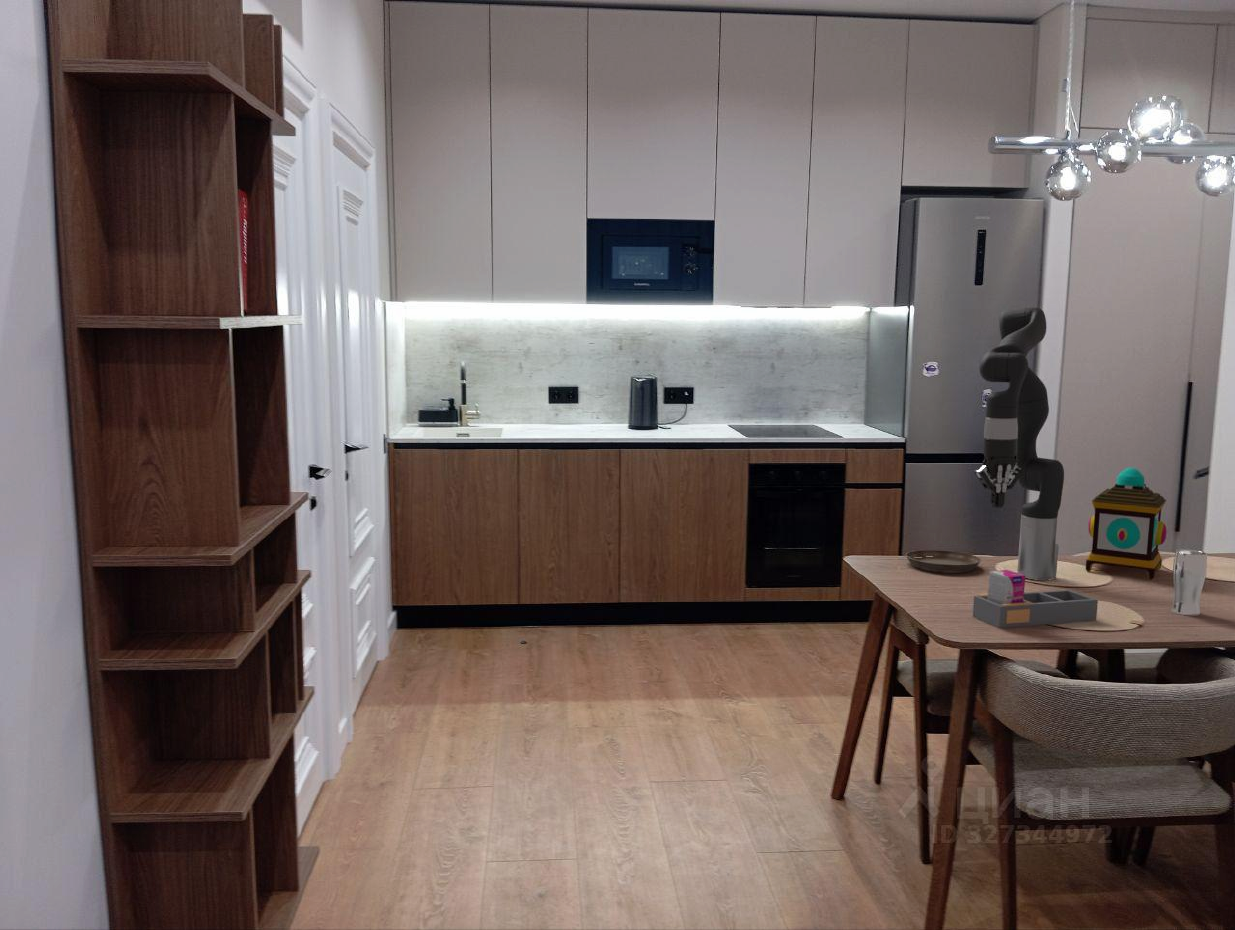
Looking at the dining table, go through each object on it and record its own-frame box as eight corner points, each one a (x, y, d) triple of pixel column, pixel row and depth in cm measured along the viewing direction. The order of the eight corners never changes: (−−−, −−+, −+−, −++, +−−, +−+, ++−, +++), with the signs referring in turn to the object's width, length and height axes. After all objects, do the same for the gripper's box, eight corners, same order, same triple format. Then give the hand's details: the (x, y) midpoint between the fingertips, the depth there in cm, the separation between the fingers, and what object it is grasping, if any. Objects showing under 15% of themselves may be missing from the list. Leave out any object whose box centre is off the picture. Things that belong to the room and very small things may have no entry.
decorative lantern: (1079, 572, 279) (1087, 467, 275) (1091, 560, 295) (1099, 461, 292) (1158, 583, 268) (1168, 474, 264) (1166, 569, 284) (1175, 467, 280)
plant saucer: (895, 559, 293) (895, 548, 293) (962, 559, 294) (963, 548, 294) (920, 576, 273) (920, 564, 272) (992, 576, 274) (993, 564, 273)
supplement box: (1004, 625, 225) (1007, 576, 223) (984, 618, 230) (987, 571, 229) (1022, 622, 227) (1026, 574, 226) (1003, 616, 233) (1006, 568, 231)
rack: (1067, 609, 239) (1068, 588, 239) (1097, 620, 230) (1098, 598, 229) (972, 616, 232) (974, 594, 231) (999, 628, 222) (1001, 605, 222)
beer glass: (1201, 618, 234) (1207, 556, 232) (1168, 613, 237) (1174, 552, 235) (1202, 611, 239) (1208, 551, 238) (1170, 607, 243) (1175, 547, 241)
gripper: (1012, 433, 240) (1009, 502, 243) (967, 435, 236) (964, 506, 239) (1034, 436, 233) (1030, 508, 236) (987, 439, 229) (984, 511, 232)
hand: (997, 507), depth 237 cm, fingers closed
